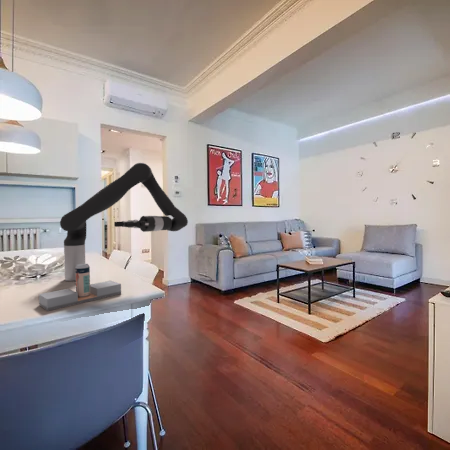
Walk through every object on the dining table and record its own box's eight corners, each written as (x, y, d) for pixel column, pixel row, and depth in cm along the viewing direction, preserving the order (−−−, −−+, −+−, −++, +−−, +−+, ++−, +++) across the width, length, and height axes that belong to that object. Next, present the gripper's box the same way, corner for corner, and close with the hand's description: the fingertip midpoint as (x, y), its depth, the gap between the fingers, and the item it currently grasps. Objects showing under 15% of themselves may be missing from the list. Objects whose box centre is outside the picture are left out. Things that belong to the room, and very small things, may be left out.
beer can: (79, 294, 104) (78, 263, 104) (92, 293, 105) (91, 263, 104) (73, 297, 100) (72, 265, 99) (87, 297, 100) (86, 265, 100)
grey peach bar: (39, 305, 95) (38, 294, 95) (110, 289, 115) (110, 280, 115) (47, 311, 89) (47, 299, 89) (121, 293, 109) (120, 283, 109)
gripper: (143, 215, 133) (111, 215, 121) (160, 215, 124) (127, 215, 112) (143, 230, 133) (111, 232, 121) (160, 231, 124) (128, 233, 112)
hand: (119, 224), depth 116 cm, fingers open, 8 cm apart
